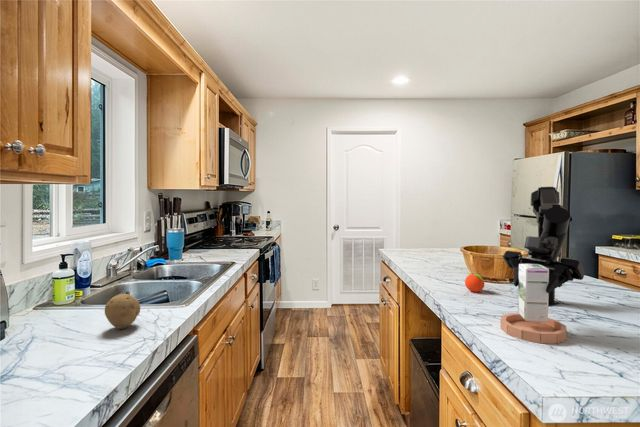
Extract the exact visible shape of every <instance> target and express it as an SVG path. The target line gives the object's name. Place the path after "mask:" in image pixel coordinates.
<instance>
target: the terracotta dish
mask: <svg viewBox="0 0 640 427" xmlns="http://www.w3.org/2000/svg"><path fill="white" fill-rule="evenodd" d="M500 329H501V331H503V332H504V333H505V334H506V335H509V336H511V337H513V338H517V339H519V340H522V341H526V342H532V343H537V344H551V345H552V344H561V343H564V342H566V341H567V334H568V331H567V330H568V329H567V325H565V324H564V323H562V322H561V321H558V320H556V319H553V318H550V317H548V322H533V321H525V320H524V319H523V318H522V317H521V316H520V315H519V314H518V312H511V313H507V314H503V315H501V318H500ZM563 341H564V342H563ZM560 342H561V343H560Z"/></svg>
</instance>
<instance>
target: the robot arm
mask: <svg viewBox="0 0 640 427" xmlns="http://www.w3.org/2000/svg"><path fill="white" fill-rule="evenodd" d="M530 194H531V195H530V206H531V207H532V212H533V214H534V215H535V216H536V224H537V236H526V238H525V243H524V247H523V248H524V249H527V250H528V252H527V254H528V255H529V256H530V257H526V256H523V254H522V253H521V251H516V250H506V251H505V252H504V254H503V256H502V258H503V259H504V261H505V264H507V266H508V268H510V269H512V270H513V285H514V287H518V279H519V264H540V265H542V266H544V267H546V268H548V269H549V283H548V285H547V289H546V292H547V293H549V300H548V307H549V306H553V305H557V304H560V301H558V300H556V299H555V298H556V289H557V288H561V287H563V284H566V283H568V282H569V281H571V282H573V281H574V280H577V281H581V280H583V279H584V277H585V274H586V273H585V272H586V271H585V268H584V266H583V263H582V262H581V260H580V259H578V258H572V257H571V258H570V257H564V256H563V257H561V256H562V252H561V250H562V248H563V245H564V243H565V241H566V238H567V236H568V228H569V224H570V223H571V222H573V216H571V212H570V211H569V210H567V209H566V208H565V206H563V205H561V204H560V192H559V191H557V188H556V187H555V186H540V187H537V190H535V191H533V192H531V193H530ZM558 258H561V259H560V261H558Z"/></svg>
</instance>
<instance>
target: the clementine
mask: <svg viewBox="0 0 640 427" xmlns="http://www.w3.org/2000/svg"><path fill="white" fill-rule="evenodd" d="M464 285H465V287H466V289H467V290H469V291H470V292H473V293H479V292H481V291H482V290H483V289H484V287H485V280H484V278H483V277H482V276H481V275H479V274H478V273H471V274H468V275H467V276H466V278H465V280H464Z"/></svg>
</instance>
